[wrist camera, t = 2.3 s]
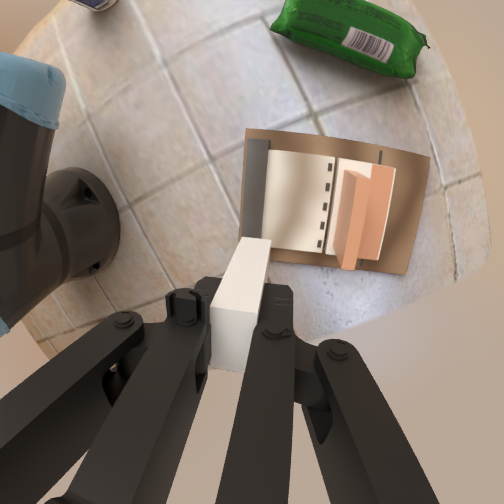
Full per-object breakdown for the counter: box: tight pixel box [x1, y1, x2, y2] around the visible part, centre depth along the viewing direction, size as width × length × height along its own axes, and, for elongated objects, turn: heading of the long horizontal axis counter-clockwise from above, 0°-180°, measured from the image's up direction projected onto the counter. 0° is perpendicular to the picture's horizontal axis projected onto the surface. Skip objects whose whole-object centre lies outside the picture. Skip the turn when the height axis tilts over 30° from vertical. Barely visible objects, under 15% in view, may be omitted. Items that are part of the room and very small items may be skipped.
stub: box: [324, 158, 396, 270], centre depth 26 cm, size 6×10×7 cm, turn 176°
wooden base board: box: [238, 128, 430, 275], centre depth 29 cm, size 20×14×3 cm
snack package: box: [270, 0, 430, 79], centre depth 21 cm, size 7×16×5 cm, turn 73°
